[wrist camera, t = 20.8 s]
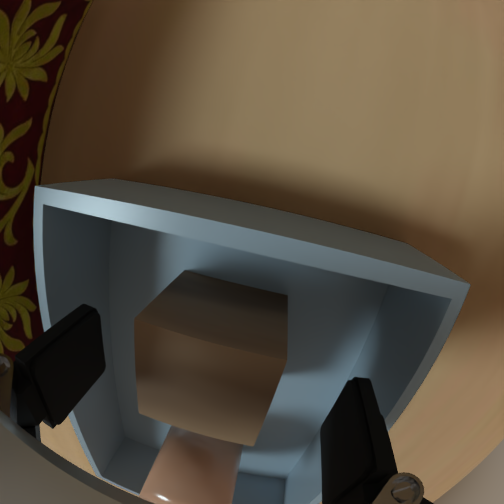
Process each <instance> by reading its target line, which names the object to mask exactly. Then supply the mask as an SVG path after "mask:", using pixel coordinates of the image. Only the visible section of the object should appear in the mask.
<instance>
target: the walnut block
mask: <svg viewBox="0 0 504 504" xmlns="http://www.w3.org/2000/svg"><path fill="white" fill-rule="evenodd" d="M134 348H135V372H136V387H137V400H138V410H139V413H140V414H142V415H145V416H147V417H150V418H153V419H155V420H158V421H161V422H164V423H167V424H169V425H172V426H175V427H178V428H182V429H185V430H188V431H191V432H195V433H198V434H202V435H205V436H209V437H213V438H217V439H221V440H225V441H229V442H233V443H238V444H243V445H248V446H254V444H255V442H256V439H257V437H258V435H259V432H260V430H261V427H262V425H263V423H264V420H265V418H266V415H267V413H268V410H269V408H270V405H271V403H272V400H273V397H274V395H275V392H276V390H277V387H278V384H279V382H280V379H281V376H282V374H283V371H284V368H285V365H286V363H287V349H288V295H285V294H280V293H276V292H271V291H267V290H263V289H259V288H254V287H250V286H246V285H242V284H238V283H233V282H229V281H225V280H221V279H217V278H213V277H209V276H205V275H201V274H197V273H194V272H190V271H186V270H184V271H183V272H182V273H181V274H180V275H179V276H178V277H177V278H175V279H174V280H173V281H172V282H171V283H170V284H169V285H168V286H167V287H166V288H165V289H164V290H163V291H162V292H161V293H160V294H159V295H158V296H157V297H156V298H155V299H154V300H153V301H152V302H150V303H149V304H148V305H147V306H146V307H145V308H144V309H143V310H142V311H141V312H140V313H139V314H138V315H137V316H136V317H135V318H134Z"/></svg>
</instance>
